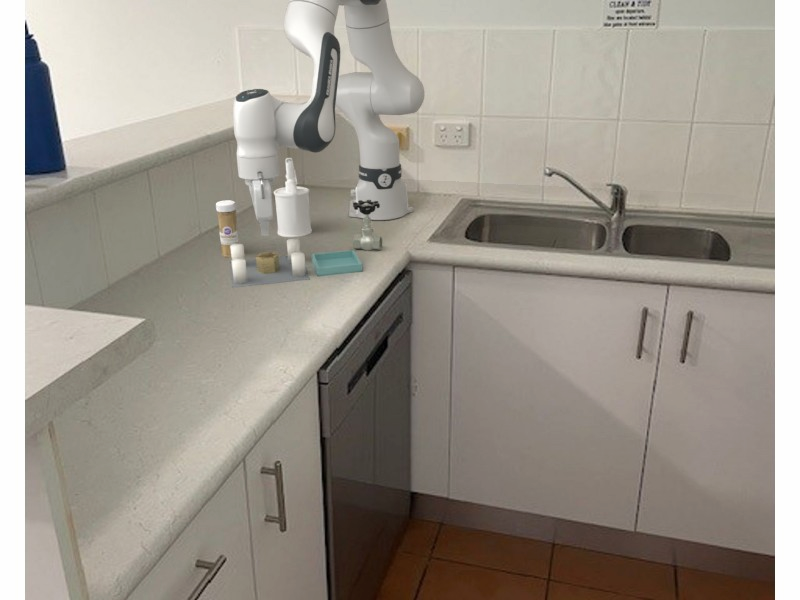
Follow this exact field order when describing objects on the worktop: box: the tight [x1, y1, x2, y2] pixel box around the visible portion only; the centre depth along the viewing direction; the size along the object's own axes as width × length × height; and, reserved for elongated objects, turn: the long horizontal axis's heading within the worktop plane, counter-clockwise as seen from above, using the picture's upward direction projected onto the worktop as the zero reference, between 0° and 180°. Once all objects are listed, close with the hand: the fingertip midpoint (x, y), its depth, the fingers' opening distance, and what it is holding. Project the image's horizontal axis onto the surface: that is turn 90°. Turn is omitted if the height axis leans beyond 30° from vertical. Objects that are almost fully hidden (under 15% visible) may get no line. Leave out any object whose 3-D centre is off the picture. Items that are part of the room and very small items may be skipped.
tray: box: [311, 249, 363, 277], centre depth 168 cm, size 10×10×2 cm
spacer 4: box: [291, 251, 307, 277], centre depth 162 cm, size 3×3×5 cm
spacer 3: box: [286, 237, 301, 262], centre depth 171 cm, size 3×3×5 cm
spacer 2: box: [231, 258, 248, 284], centre depth 159 cm, size 3×3×5 cm
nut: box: [255, 251, 280, 274], centre depth 166 cm, size 4×5×4 cm
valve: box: [352, 200, 383, 252], centre depth 177 cm, size 7×7×12 cm
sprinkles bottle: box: [215, 199, 240, 258], centre depth 175 cm, size 5×5×13 cm
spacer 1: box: [230, 243, 246, 261], centre depth 168 cm, size 3×3×5 cm
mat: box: [229, 255, 311, 289], centre depth 166 cm, size 17×17×1 cm
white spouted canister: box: [273, 157, 313, 238], centre depth 189 cm, size 10×9×20 cm
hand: (263, 229), depth 162 cm, fingers open, 8 cm apart
